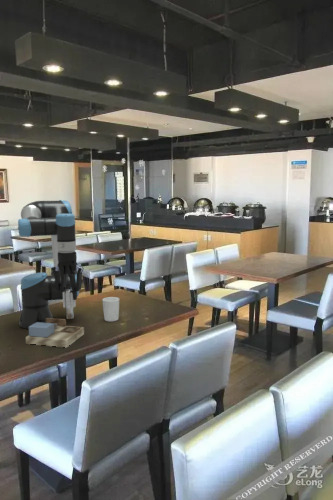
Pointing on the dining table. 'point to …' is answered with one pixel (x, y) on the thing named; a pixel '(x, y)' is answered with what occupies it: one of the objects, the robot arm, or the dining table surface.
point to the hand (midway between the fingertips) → (69, 306)
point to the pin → (68, 304)
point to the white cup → (111, 308)
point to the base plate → (58, 334)
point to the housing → (41, 329)
